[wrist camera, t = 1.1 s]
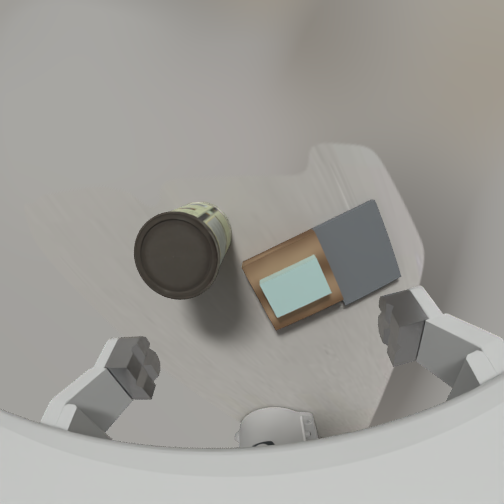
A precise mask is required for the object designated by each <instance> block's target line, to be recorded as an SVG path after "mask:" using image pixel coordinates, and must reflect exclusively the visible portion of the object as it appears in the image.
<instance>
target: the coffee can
mask: <svg viewBox="0 0 504 504" xmlns="http://www.w3.org/2000/svg"><path fill="white" fill-rule="evenodd" d="M230 243H231V227H230V223H229V221H228V219H227V217H226V216H225V214H224V213H223V212H222V211H221V210H220V209H219V208H217V207H216V206H214V205H212V204H210V203H205V202H194V203H190V204H187V205H185V206H183V207H180V208H178V209H175V210H173V211H170V212H165V213H161V214H159V215H156V216H154V217H153V218H151V219H150V220H149V221H147V222H146V223H145V224H144V226H143V227H142V228H141V230H140V231H139V233H138V235H137V238H136V241H135V247H134V259H135V264H136V267H137V270H138V272H139V274H140V276H141V277H142V279H143V280H144V282H145V283H146V284H147V285H148V286H149V287H150V288H151V289H152V290H154V291H155V292H157V293H158V294H160V295H162V296H164V297H167V298H171V299H179V300H182V299H189V298H193V297H196V296H198V295H200V294H202V293H203V292H205V291H206V290H207V289H208V288H209V287H210V286H211V285H212V283H213V282H214V280H215V278H216V276H217V274H218V271H219V267H220V265H221V262H222V260H223V258H224V256H225V253H226V252H227V250H228V248H229V246H230Z"/></svg>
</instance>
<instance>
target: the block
mask: <svg viewBox="0 0 504 504" xmlns="http://www.w3.org/2000/svg"><path fill="white" fill-rule="evenodd" d="M260 287H261V288H262V290H263V292H264V294H265V296H266V298H267V300H268V302H269V303H270V305H271V307H272V309H273V311H274V313H275V315H276V317H277V318H278V317H280V316H283V315H285V314H287V313H289V312H292V311H294V310H296V309H298V308H300V307H303V306H305V305H307V304H309V303H311V302H313V301H316V300H318V299H320V298H322V297H324V296H326V295H328V294H330V293H332V292H331V290H330V288H329V285H328V283H327V281H326V278H325V276H324V274H323V272H322V269H321V267H320V265H319V263H318V260H317V258H316V257H315V255H312V256H310V257H308V258H305V259H303V260H301V261H299V262H297V263H295V264H293V265H291V266H289V267H287V268H285V269H282V270H280V271H278V272H276V273H274V274H272V275H270V276H268V277H265V278H263V279H261V280H260Z"/></svg>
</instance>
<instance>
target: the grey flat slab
mask: <svg viewBox="0 0 504 504" xmlns="http://www.w3.org/2000/svg"><path fill="white" fill-rule="evenodd" d="M312 230H313V231H314V232H315V233H316V236H317V238H318V240H319V242H320V244H321V247H322V249H323V251H324V253H325V256H326V258H327V260H328V263H329V265H330V267H331V270H332V272H333V274H334V277H335V279H336V281H337V284H338V286H339V289H340V291H341V294H342V296H343V298H344V300H343V302H344V304H345V306H346V305H348V304H350V303H352V302H354V301H356V300H358V299H360V298H362V297H364V296H365V295H367V294H369V293H371V292H373V291H375V290H377V289H379V288H381V287H383V286H385V285H386V284H388V283H390V282H392V281H394V280H396V279H397V278H399V277H401V274H400V271H399V268H398V264H397V261H396V258H395V255H394V252H393V249H392V246H391V243H390V240H389V237H388V234H387V231H386V229H385V226H384V223H383V220H382V218H381V215H380V212H379V210H378V207H377V205H376V202H375V200H369V201H367V202H365V203H363V204H361V205H359V206H357V207H355V208H353V209H351V210H349V211H347V212H345V213H343V214H341V215H339V216H337V217H335V218H332V219H330V220H328V221H326V222H324V223H322V224H320V225H318V226H316V227H314V228H312Z"/></svg>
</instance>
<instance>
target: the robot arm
mask: <svg viewBox="0 0 504 504" xmlns="http://www.w3.org/2000/svg"><path fill="white" fill-rule="evenodd" d="M379 308H380V310H381V313H380V315H379V316H378V328H379V333H380V337H381V339H382V342H383V343H384V344H386V345H388V348H387V353H388V356H389V358H390V360H391V363H392V365H393V367H394V366H398V365H401V364H405V363H408V362H412V361H415V360H416V362H418V363H419V364H420V365H422V366H423V367H424V368H426V369H427V370H429V371H430V372H431V373H433V374H434V375H435V376H437V377H438V378H440V379H441V380H442V381H444V382H445V383H447V384H448V385H449V386H451V387H452V390H451V392H450V395H449V396H448V398H447V400H446V402H443V403H441V404H439V405H436V406H434V407H431V408H429V409H426V410H423V411H421V412H418V413H415V414H412V415H409V416H406V417H403V418H400V419H397V420H394V421H391V422H387V423H384V424H381V425H377V426H373V427H369V428H366V429H362V430H358V431H354V432H349V433H345V434H340V435H335V436H330V437H325V438H320V439H319V438H318V434H317V429H316V425H315V421H314V417H313V414H312V413H309V412H297V411H294V410H291V409H287V408H282V407H269V408H263V409H259V410H256V411H253V412H251V413H250V414H248V415H247V416H246V417H245V418H244V419H243V420H242V422H241V425H240V430H239V431H238V432H237V433H236V434H235V440H236V441H237V442H238V443H239V448H180V447H164V446H153V445H143V444H135V443H127V442H120V441H114V440H112V438H110V437H109V436H108V435H107V434H106V433H105V432H106V431H107V430H108V429H109V427H110V426H111V425H112V424H113V423H114V422H115V420H116V419H117V418H118V417H119V416H120V415H121V413H122V412H123V411H124V410H125V409H126V408H127V407H128V406H129V404H130V403H131V402H132V401H133V400H132V399H137V400H138V399H139V400H140V399H141V400H143V399H144V400H147V399H152V396H153V393H154V390H155V386H156V385H155V383H154V380H155V379H156V378H157V377H158V376H159V373H160V361H159V358H158V356H157V354H156V352H154V351H153V350H151V349H150V348H149V347H150V343H149V341H148V340H147V338H146V337H143V336H138V337H121V338H110V339H109V340H108V341H107V343H106V344H105V346H104V348H103V350H102V352H101V354H100V356H99V358H98V360H97V362H96V364H95V366H94V367H93V368H90V369H89V370H87V371H86V372H85V373H84V374H82V375H81V376H80V377H79V378H77V380H75V381H74V382H72V383H71V384H70V385H69V386H67V387H66V388H65V389H64V390H63V391H61V392H60V393H59V394H58V395H56V396H55V397H54V398H53V399H51V401H50V403H49V405H48V407H47V409H46V411H45V413H44V415H43V418H42V420H41V422H40V423H38V422H35V421H32V420H29V419H26V418H23V417H21V416H18V415H15V414H12V413H9V412H7V411H5V410H2V409H0V504H504V341H503V339H502V338H501V337H499V336H496V335H494V334H492V333H490V332H488V331H485V330H483V329H481V328H479V327H476V326H474V325H472V324H470V323H467V322H465V321H463V320H461V319H458V318H456V317H454V316H451V315H449V314H447V313H446V314H442V312H441V311H440V310H439V308H438V307H437V305H436V304H435V303H434V301H433V300H432V299H431V297H430V296H429V295H428V293H427V292H426V291H425V289H424V288H423V287H422V286H416V287H413V288H410V289H407V290H404V291H400V292H396V293H392V294H389V295H385V296H381V297H380V299H379Z"/></svg>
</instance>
